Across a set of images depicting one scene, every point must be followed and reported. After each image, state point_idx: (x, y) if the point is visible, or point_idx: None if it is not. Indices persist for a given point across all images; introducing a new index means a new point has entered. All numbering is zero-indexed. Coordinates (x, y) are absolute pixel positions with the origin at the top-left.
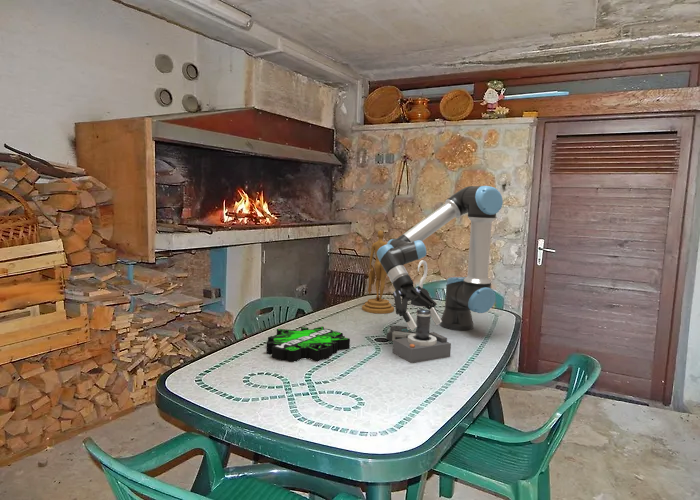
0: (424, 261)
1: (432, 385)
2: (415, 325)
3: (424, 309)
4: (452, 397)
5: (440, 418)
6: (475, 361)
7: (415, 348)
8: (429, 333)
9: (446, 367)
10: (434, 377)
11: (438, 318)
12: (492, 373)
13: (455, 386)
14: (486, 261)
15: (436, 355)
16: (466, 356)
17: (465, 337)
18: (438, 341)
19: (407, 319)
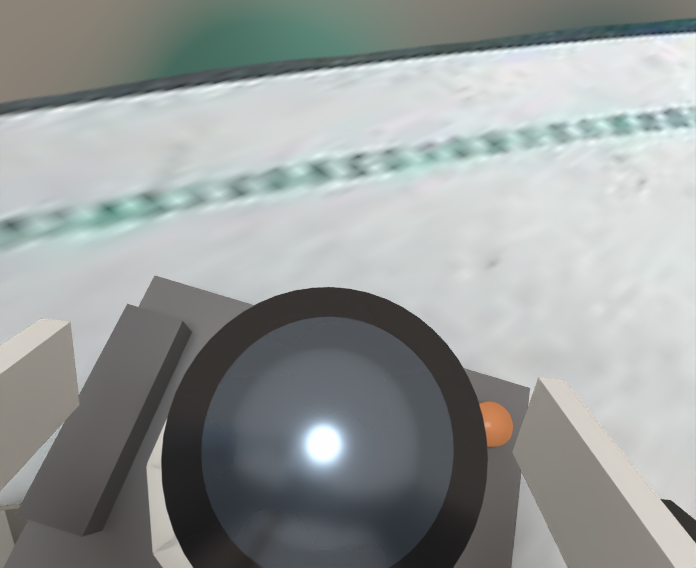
0: None
1: (595, 168)
2: (564, 390)
3: (227, 493)
4: (600, 79)
5: None
6: (155, 179)
7: (490, 382)
8: (90, 524)
9: (368, 232)
10: (525, 204)
11: (31, 353)
12: (259, 72)
13: (517, 110)
14: None
15: None
16: (104, 247)
17: None
18: (180, 370)
19: (689, 521)
